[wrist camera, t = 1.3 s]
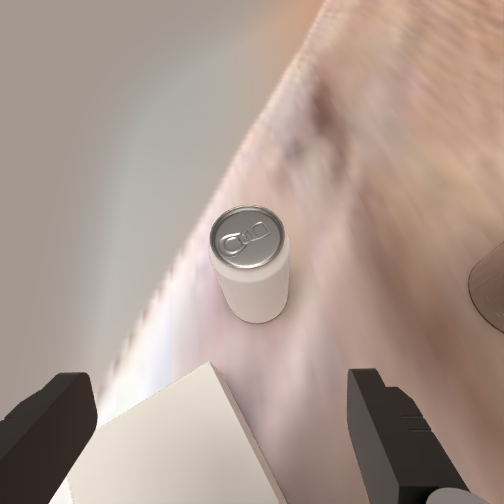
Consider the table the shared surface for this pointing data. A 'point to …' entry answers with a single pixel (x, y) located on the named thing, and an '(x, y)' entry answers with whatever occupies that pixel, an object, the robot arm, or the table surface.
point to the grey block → (176, 451)
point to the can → (251, 261)
